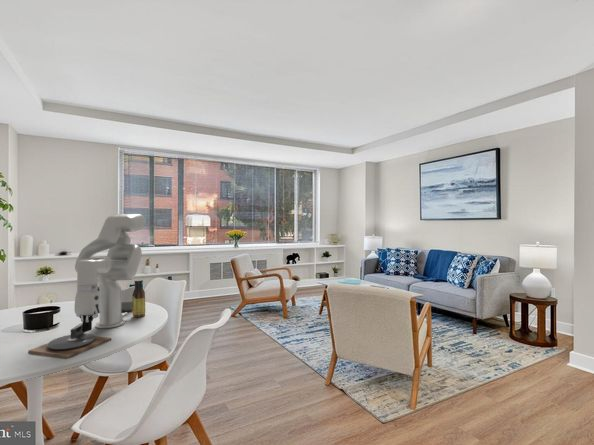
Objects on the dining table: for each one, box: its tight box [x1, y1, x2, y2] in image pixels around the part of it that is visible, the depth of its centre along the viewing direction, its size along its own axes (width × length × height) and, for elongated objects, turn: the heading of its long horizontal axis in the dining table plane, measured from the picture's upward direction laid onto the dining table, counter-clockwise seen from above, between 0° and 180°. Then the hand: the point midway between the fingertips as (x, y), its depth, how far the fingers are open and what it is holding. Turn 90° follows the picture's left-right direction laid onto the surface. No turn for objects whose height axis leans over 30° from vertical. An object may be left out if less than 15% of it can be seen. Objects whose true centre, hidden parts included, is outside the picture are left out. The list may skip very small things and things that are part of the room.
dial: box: [47, 322, 96, 351], centre depth 136 cm, size 18×16×5 cm
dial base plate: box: [27, 335, 112, 359], centre depth 135 cm, size 20×20×1 cm
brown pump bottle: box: [132, 279, 146, 318], centre depth 178 cm, size 6×6×20 cm
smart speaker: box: [121, 285, 135, 312], centre depth 190 cm, size 10×9×14 cm
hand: (87, 330), depth 142 cm, fingers closed
